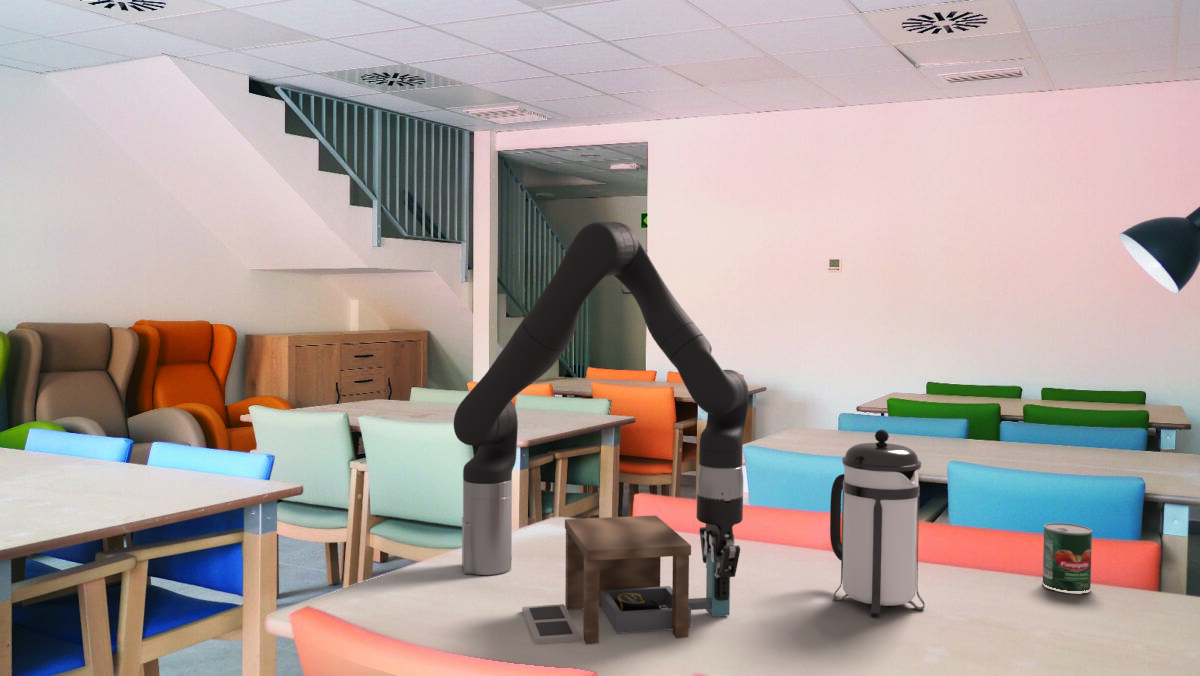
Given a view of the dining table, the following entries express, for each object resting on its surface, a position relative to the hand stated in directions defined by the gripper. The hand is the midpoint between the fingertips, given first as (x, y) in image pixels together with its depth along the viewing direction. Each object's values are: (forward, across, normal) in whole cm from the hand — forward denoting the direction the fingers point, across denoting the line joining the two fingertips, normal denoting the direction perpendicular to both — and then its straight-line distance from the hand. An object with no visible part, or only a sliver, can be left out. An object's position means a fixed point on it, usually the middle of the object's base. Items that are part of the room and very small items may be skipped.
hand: (717, 595), depth 154 cm
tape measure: (+4, 0, -13) cm, 14 cm away
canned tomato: (+3, -2, +67) cm, 67 cm away
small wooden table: (+3, 0, -16) cm, 16 cm away
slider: (+3, 0, -9) cm, 9 cm away
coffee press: (+3, -1, +28) cm, 28 cm away
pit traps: (+3, 0, -28) cm, 28 cm away
